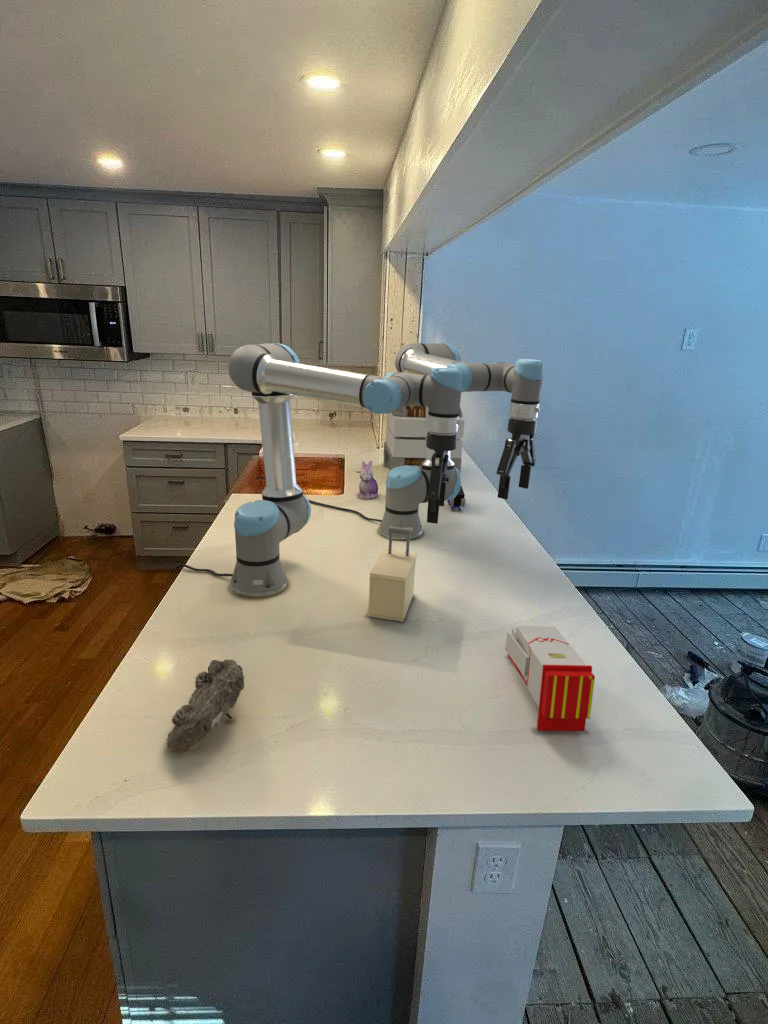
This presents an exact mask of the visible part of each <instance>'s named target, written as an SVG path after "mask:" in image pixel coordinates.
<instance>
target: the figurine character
mask: <svg viewBox="0 0 768 1024" xmlns="http://www.w3.org/2000/svg"><path fill="white" fill-rule="evenodd" d="M465 496H466V494H465V492H464V488H463V486H462V485H461V487H460V490H459V493H458V494H457V495H456V497H455V498H453V499H451V500H446V503H447V504H448V506H449V508H450V509H451V511H454V509H458V511H461V510H462V509H461V508H465V505H466V497H465Z"/></svg>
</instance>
